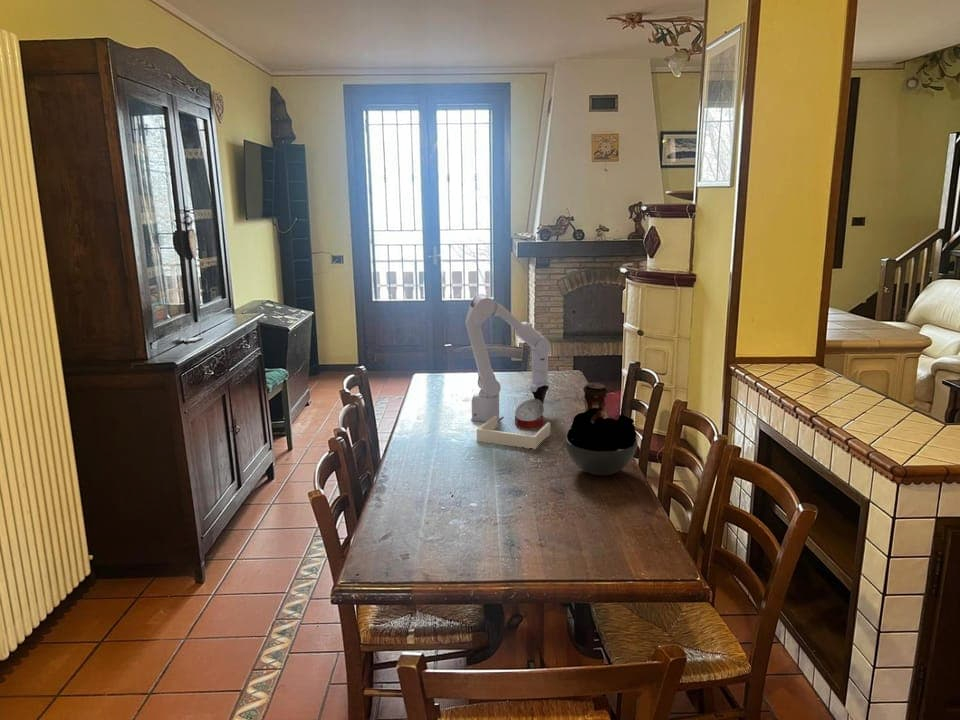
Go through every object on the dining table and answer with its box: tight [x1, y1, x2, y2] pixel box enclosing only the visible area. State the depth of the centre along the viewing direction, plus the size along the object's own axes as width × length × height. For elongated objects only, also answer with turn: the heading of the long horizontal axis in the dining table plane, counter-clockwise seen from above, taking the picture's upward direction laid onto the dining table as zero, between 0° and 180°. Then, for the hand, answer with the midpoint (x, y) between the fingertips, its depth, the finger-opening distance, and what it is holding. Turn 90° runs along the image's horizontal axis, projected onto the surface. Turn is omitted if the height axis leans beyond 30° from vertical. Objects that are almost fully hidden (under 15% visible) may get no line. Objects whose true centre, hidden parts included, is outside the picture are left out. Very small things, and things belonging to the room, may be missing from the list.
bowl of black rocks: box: [564, 408, 638, 476], centre depth 190 cm, size 20×20×19 cm
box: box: [476, 416, 551, 450], centre depth 220 cm, size 20×15×4 cm
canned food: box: [514, 398, 545, 430], centre depth 233 cm, size 11×10×10 cm
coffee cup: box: [582, 382, 609, 423], centre depth 235 cm, size 9×8×13 cm
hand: (539, 405), depth 242 cm, fingers closed
